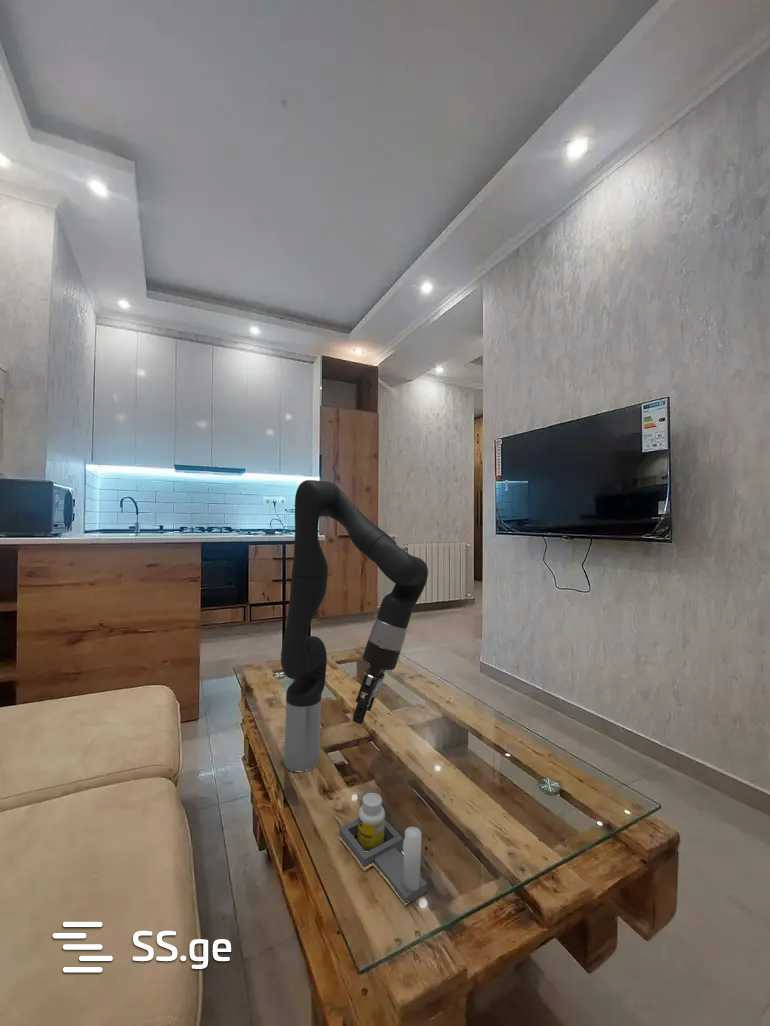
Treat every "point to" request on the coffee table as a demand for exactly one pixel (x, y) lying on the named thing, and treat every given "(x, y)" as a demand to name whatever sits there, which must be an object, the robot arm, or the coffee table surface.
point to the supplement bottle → (371, 822)
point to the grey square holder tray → (392, 858)
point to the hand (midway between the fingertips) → (361, 715)
